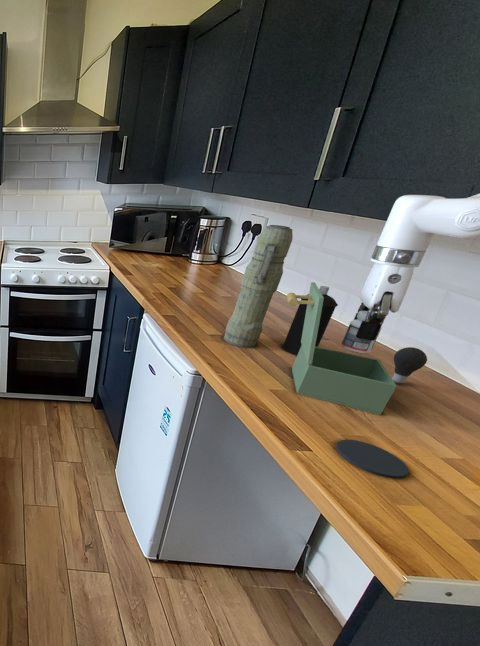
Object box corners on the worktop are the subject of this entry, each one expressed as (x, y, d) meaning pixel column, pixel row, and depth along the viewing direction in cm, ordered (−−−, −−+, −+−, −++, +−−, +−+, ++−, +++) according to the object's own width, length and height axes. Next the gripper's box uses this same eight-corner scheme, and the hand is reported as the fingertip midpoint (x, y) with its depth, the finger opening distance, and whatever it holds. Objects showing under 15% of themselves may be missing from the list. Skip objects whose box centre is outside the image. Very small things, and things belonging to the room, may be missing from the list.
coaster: (398, 454, 77) (399, 452, 77) (414, 487, 69) (416, 484, 69) (332, 435, 82) (333, 433, 82) (340, 463, 74) (342, 461, 74)
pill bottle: (351, 343, 97) (366, 308, 93) (376, 352, 92) (393, 316, 89) (334, 345, 95) (349, 310, 92) (359, 354, 91) (376, 318, 87)
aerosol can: (320, 359, 114) (350, 293, 106) (286, 354, 117) (313, 288, 109) (309, 348, 121) (336, 284, 113) (277, 343, 124) (301, 281, 116)
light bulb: (417, 388, 101) (438, 352, 97) (400, 389, 100) (420, 353, 96) (393, 376, 106) (411, 343, 102) (375, 378, 105) (394, 343, 101)
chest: (365, 386, 101) (379, 359, 98) (380, 415, 89) (396, 386, 86) (291, 368, 109) (302, 343, 105) (296, 393, 97) (308, 365, 94)
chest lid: (315, 282, 100) (286, 282, 103) (323, 297, 88) (291, 297, 91) (304, 342, 105) (278, 340, 108) (311, 364, 93) (281, 361, 96)
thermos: (256, 338, 126) (297, 225, 112) (256, 352, 117) (301, 231, 103) (223, 331, 131) (259, 222, 116) (221, 344, 122) (260, 227, 107)
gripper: (436, 266, 77) (394, 351, 84) (408, 252, 90) (374, 326, 97) (383, 261, 80) (347, 343, 88) (364, 248, 94) (334, 320, 101)
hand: (362, 333), depth 92 cm, fingers closed on pill bottle, 5 cm apart
